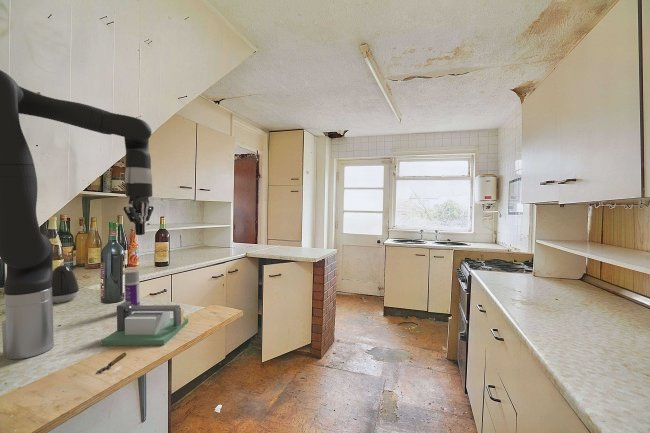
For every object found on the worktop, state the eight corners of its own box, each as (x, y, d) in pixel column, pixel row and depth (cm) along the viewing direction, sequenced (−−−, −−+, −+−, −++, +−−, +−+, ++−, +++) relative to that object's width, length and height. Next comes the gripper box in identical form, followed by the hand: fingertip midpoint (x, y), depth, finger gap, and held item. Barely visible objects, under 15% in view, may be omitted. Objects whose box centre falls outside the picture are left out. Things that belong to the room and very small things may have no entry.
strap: (123, 327, 91) (122, 308, 91) (130, 322, 94) (130, 304, 94) (176, 327, 91) (175, 308, 91) (181, 322, 95) (181, 304, 95)
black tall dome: (45, 307, 115) (44, 269, 114) (47, 300, 123) (45, 264, 122) (79, 301, 122) (78, 265, 121) (78, 295, 130) (77, 261, 129)
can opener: (123, 356, 79) (123, 352, 79) (130, 356, 79) (130, 352, 79) (92, 375, 71) (92, 371, 70) (100, 376, 70) (100, 371, 70)
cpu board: (101, 345, 85) (100, 313, 84) (135, 322, 101) (135, 295, 100) (164, 344, 85) (163, 313, 85) (188, 322, 101) (187, 295, 101)
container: (123, 312, 110) (122, 273, 110) (128, 307, 115) (127, 270, 114) (137, 310, 112) (136, 272, 111) (141, 306, 116) (140, 269, 116)
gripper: (139, 183, 102) (140, 232, 103) (113, 180, 89) (114, 237, 90) (161, 183, 102) (162, 232, 103) (138, 181, 89) (139, 237, 90)
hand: (140, 234), depth 96 cm, fingers closed
